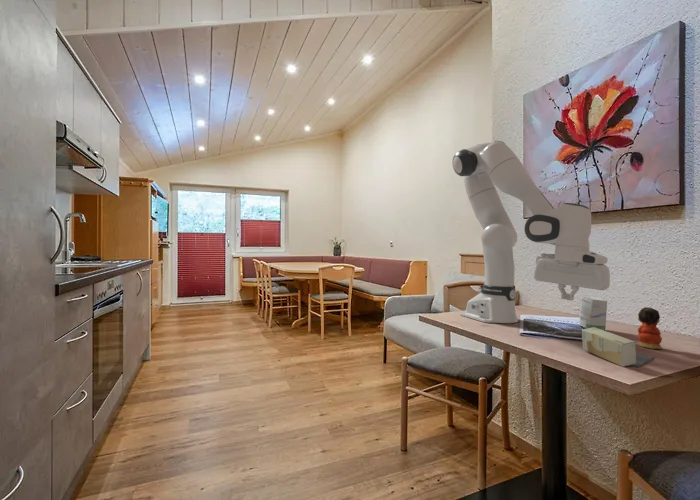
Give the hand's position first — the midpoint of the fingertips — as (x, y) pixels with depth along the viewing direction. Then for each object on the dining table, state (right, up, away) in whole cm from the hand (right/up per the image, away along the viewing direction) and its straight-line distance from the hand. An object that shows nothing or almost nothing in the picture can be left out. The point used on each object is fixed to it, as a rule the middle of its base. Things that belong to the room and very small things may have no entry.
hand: (567, 299), depth 105 cm
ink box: (+20, -14, +17) cm, 29 cm away
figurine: (+23, -14, -3) cm, 27 cm away
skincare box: (+1, -10, -7) cm, 13 cm away
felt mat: (+8, -14, -13) cm, 21 cm away
